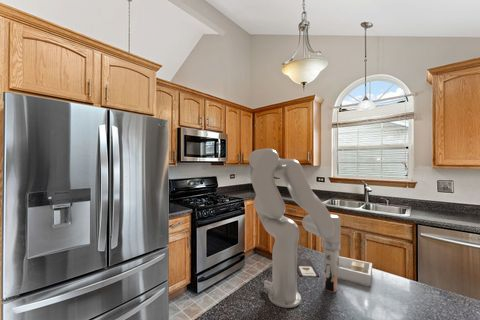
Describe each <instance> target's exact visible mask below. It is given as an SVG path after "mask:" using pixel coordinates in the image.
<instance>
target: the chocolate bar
mask: <svg viewBox="0 0 480 320" xmlns="http://www.w3.org/2000/svg"><path fill="white" fill-rule="evenodd" d="M313 264H314V263H312V261H311V259H310V258H297V274H298V275H299V277H308V278H309V277H314V278H320V275H319V274H320V273H318V271H317V270H316V268H315V266H314V265H313Z"/></svg>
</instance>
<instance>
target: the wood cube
mask: <svg viewBox="0 0 480 320" xmlns="http://www.w3.org/2000/svg"><path fill="white" fill-rule="evenodd" d="M351 270H354V271H358V272H362V273H364V263H359V262H355V261H352V265H351Z"/></svg>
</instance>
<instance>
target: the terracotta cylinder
mask: <svg viewBox="0 0 480 320" xmlns="http://www.w3.org/2000/svg"><path fill="white" fill-rule="evenodd" d="M330 273H332V272H330ZM330 277H331V275H330ZM325 278H326V273H324V279H325ZM333 282H334V291H333V292H332V291H329V290H326V289H325V288H324V290H325V291H327V292H329V293H337V292H338V278H337V275H336V276H334V275H333Z"/></svg>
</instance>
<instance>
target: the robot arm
mask: <svg viewBox="0 0 480 320" xmlns="http://www.w3.org/2000/svg"><path fill="white" fill-rule="evenodd" d="M248 162H249V165H250V166H251V168H252V169H253V170H252V174H251V184H252V188H253V191H254V193H255V197H254V200H253V206H254V210H255V212H256V213H257V217H258V218H259V220H260V223H261V224H262V226H263V228H264V230H265V231H266V232H267V233H268V234H269V235H270V236H272V237H273V238H274V243H273V246H272V254H271V255H272V256H271V257H272V261H271V262H272V264H271V266H272V271H271V272H272V281H270V280H266V279H265V280H264V281H263V285H264V286H263V288H264V289H267V290H269V291H268V293H267V296H268V299H269V301H270V302H271V303H272V304H273V305H275V306H276V307H281V308H285V309H286V308H288V309H289V308H290V309H291V308H295V307H298V306H299V305H300V304H301V302H302V296H301V293H299V292H298V271H297V259H298V245H299V240H300V229H299V226H298V224H297V223H296V222H295V221H294V220H292V219H291V218H289V217H287V216H284V214H286V203H285V201H284V200H283V197H282V195H281V193H280V191H279V188H278V187H277V183H276V181H275V178H277V179H282V180H283V181H284V184H285V185H286V188H287V190H288V192H289V195H290V196H291V198H292V200H293V201H294V202H295V203H296V204H297V205H298V207H300V208H302V209H303V210H304V211H306V213H307V215H305V216H304V217H303V218H302V220H301V221H302V222H301V223H302V228H304V229H305V231H307V232H308V233H311V234H312V235H315V236H317V237H319V238H321V248H322V249H323V266H322V267H323V268H322V269H323V274H325V273H326V278H325V277H324V290H325V289H326V290H325V291H327V290H329V291H332V292H331V293H334V292H333V291H334V282H333V275H334V276H336V275H337V273H338V271H339V268H340V263H339V256H340V251H341V250H342V248H341V246H342V245H341V244H342V243H341V241H342V240H341V236H342V235H341V233H342V232H341V226H342V225H341V224H342V222H341V220H342V219H341V217H340V216H339V215H337V214H333V213H330V211H329V210H328V208H327V206H326V205H325V204H324V202H322V201H321V199H320V198H319V197H318V195H316V193H315V192H313V189H312V188H311V185H310V182H309V181H308V179H307V176H306V174H305V171H304V169H303V167H302V165H301V163H300V162H299V161H298V160H296V159H294V158H280V156H279V154H278V152H277V151H276V150H275V149H274V148H267V147H266V148H261V149H259V148H258V149H256V150H252V152H251V153H250V154H249V157H248ZM330 272H332V273H330ZM330 275H331V277H330ZM329 291H328V292H329Z"/></svg>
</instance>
